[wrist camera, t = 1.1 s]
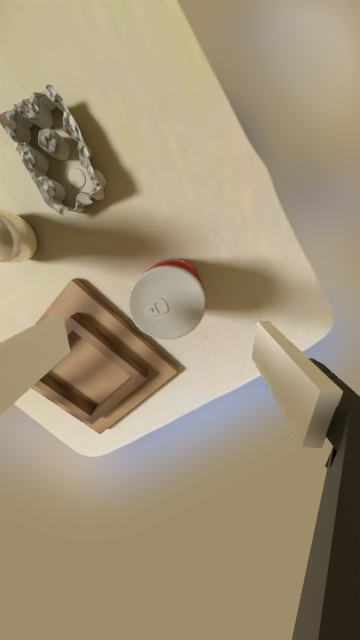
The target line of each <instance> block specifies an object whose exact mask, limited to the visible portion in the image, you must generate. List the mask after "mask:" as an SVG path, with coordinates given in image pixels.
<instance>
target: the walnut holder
mask: <svg viewBox="0 0 360 640" xmlns="http://www.w3.org/2000/svg"><path fill="white" fill-rule="evenodd" d="M52 316H63V319H64V323H65V328H66V333H67V337H68V342H69V347H70V351H71V352H70V353H69V354H68V355H67V356H65V357H64V358H63V359H62V360H61V361H60V362H59V363H58V364H57V365H55V366H54V367H53V368H52V369H51V370H50V371H49V372H48V373H47V374H45V375H44V376H43V377H42V378H41V379H40V380H39V381H38V382H37V383H35V384H34V385H33V386H32V387H31V388H32V389H34V390H35V391H37V392H38V393H40V394H41V395H43V396H44V397H46V398H47V399H49V400H50V401H52V402H53V403H55V404H56V405H58V406H59V407H61V408H62V409H64V410H65V411H66V412H68V413H69V414H71V415H72V416H74V417H75V418H77V419H78V420H80V421H81V422H83V423H84V424H86V425H87V426H89V427H90V428H92V429H93V430H95V431H96V432H98V433H99V434H101V433H103V432H104V431H105V430H106V429H108V428H109V427H110V426H111V425H113V424H114V423H115V422H116V421H117V420H119V419H120V418H121V417H122V416H124V415H125V414H126V413H127V412H129V411H130V410H131V409H132V408H134V407H135V406H136V405H137V404H139V403H140V402H141V401H142V400H144V399H145V398H146V397H147V396H149V395H150V394H151V393H152V392H154V391H155V390H156V389H157V388H159V387H160V386H161V385H162V384H164V383H165V382H166V381H167V380H169V379H170V378H171V377H172V376H174V375H175V374H176V373H177V370H178V367H177V366H175V365H174V364H173V363H172V362H171V361H170V360H169V359H168V358H166V357H165V356H164V355H163V354H162V353H161V352H160V351H158V350H157V349H156V348H155V347H154V346H153V345H152V344H150V343H149V342H148V341H147V340H146V339H145V338H144V337H143V336H141V335H140V334H139V333H138V332H137V331H136V330H135V329H133V328H132V327H131V326H130V325H129V324H128V323H127V322H125V321H124V320H123V319H122V318H121V317H120V316H119V315H118V314H116V313H115V312H114V311H113V310H112V309H111V308H110V307H108V306H107V305H106V304H105V303H104V302H103V301H102V300H100V299H99V298H98V297H97V296H96V295H95V294H94V293H93V292H91V291H90V290H89V289H88V288H87V287H86V286H85V285H83V284H82V283H81V282H80V281H79V280H78V279H77V278H76V279H73V280H71V281H70V282H69V283H68V284H67V286H66V287H65V288H64V289H63V291H62V292H61V293H60V294H59V296H58V297H57V298H56V299H55V301H54V302H53V303H52V304H51V306H50V307H49V308H48V309H47V311H46V312H45V313H44V314H43V316H42V317H41V318H40V319H39V321H38V322H37V323H36V324H38V323H40V322H42V321H44V320H46V319H48V318H50V317H52ZM36 324H35V325H36Z"/></svg>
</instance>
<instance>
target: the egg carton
mask: <svg viewBox="0 0 360 640" xmlns="http://www.w3.org/2000/svg"><path fill="white" fill-rule="evenodd" d="M56 107H58V108H59V109H60V110H61V111H62V112H63V113H64V116H63V119H62V120H63V130H64V131H65V133H67V134H68V135H69V136H70V137H72V138H73V139H74V140H75V141H76V142H77V143H78V147H77V149H78V151H79V159H80V160H81V165H82V166H83V167H85V168H86V169H87V172H88V174H89V176H90V178H91V180H92V183H93V190H92V191H91V192H90V194H88V193H86V192H82V193H79V194H78V195H77V197H76V205H75V206H76V208H75V209H73V208H69V207H66V206H64V204H63V202H62V201H63V200H64V198H65V190H64V188H63V186H62V185H61V184H60V183H58V182H56V181H54V180H52V179H50V178H48V177H47V176H46V173H47V171H48V168H49V163H48V161H47V159H46V157H45V156H44V155H43V154H41V153H40V152H38V151H37V150H35V149H33V148H32V147H31V146H30V145H28V144H29V142H30V141H31V132H30V127H31V126H33V125H36V126H38V127H40V128H41V129H43V130H40V131H39V135H38V144H39V146H40V147H41V148H43V149H44V150H45V151H46V152H48V153H49V154H50V155H52V156H54V157H55V158H57V159H59V160H62V161H64V160H66V159H67V158H68V157H69V155H70V149H69V145H68V143H67V142H66V141H65V140H64V139H63V138H62V137H61V136H60V135H58V134H57V133H56V132H55V131H54V130H52V129H50V128H51V126H52V123H53V118H52V114H51V111H52V110H53V109H54V108H56ZM0 123H1V124H2V126H3V128H4V129H5V131H6V132H7V134H8V136H9V137H10V139H11V140H12V142H13V143H14V144H15V146H16V150H17V152H18V153H19V154H20V155H21V161H22V162H23V164H24V165H25V167H26V168H27V170H28V171H29V173H30V175H31V177H32V179H33V180H34V182H35V183H36V185H37V187H38V189H39V191H40V193H41V195H42V197H43V199H44V200H45V202H46V203H47V204H48V205H49V206H50V207H51V208H53V209H54V210H56V211H57V212H59V213H60V214H62V215H65V214H66V213H67V212H68V210H69V211H73V212H77V213H79V212H81V211H84V206H86V205H88V204H90V203H92V202H93V201H91V198H95V199H97V200H101V199H103V198H105V195H104V188H105V185H106V184H107V183H106V180H105V178H104V176H103V174H102V172H99V171H98V170H93V168H92V166H91V164H90V157H91V156H92V152H91V151H90V149H89V148H88V146H87V144H86V143H85V141H83V138H82V135H81V132H80V130H79V128H78V126H77V124H76V121H75V118H74V117H73V115H72V114H71V113H70V112H69V110H68V108H67V107H66V106H65V104H64V102H63V100H62V98H61V97H60V96H59V95H58V94H57V93H56V91H55V90H54V88H53V87H52V86H51V85H47V86H46V90H45V91H43V92H42V93H36V92H34V93H32V96H31V97H30V98H28V99H24V100H23V101H22V102H21V103H18V104H15V105H13V110H11V111H6V112H4V113H2V114H0ZM68 179H69V182H70V184H71V185H72V186H73V187H75V188H77V189H81V188H83V187H84V185H85V182H86V178H85V175H84V173H83V172H82V170H80V169H78V168H72V169H71V170H70V171H69V173H68Z"/></svg>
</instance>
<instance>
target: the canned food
mask: <svg viewBox="0 0 360 640" xmlns="http://www.w3.org/2000/svg"><path fill="white" fill-rule="evenodd" d="M205 306H206V296H205V292H204V289H203V286H202V283H201V280H200V278H199V275H198V273H197V271H196V270H195V268H194V267H193V266H192V265H190V264H189V263H188V262H186V261H184V260H180V259H167V260H164V261H162V262H160V263H158V264H157V265H155V266H153V267H152V268H150V269H149V270H147V271H146V272H144V273H143V274H142V275H141V276H140V277H139V278H138V279H137V280H136V281H135V283H134V284H133V286H132V288H131V290H130V293H129V297H128V309H129V314H130V316H131V318H132V320H133V322H134V323H135V325H136V326H137V327H138V328H139V329H140V330H141V331H143V332H144V333H146V334H147V335H149V336H152V337H155V338H158V339H175V338H179V337H182V336H184V335H186V334H188V333H189V332H191V331H192V330H194V329H195V327H196V326H197V325H198V324H199V323H200V321H201V319H202V317H203V315H204V312H205Z"/></svg>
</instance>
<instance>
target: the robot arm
mask: <svg viewBox="0 0 360 640" xmlns="http://www.w3.org/2000/svg"><path fill="white" fill-rule="evenodd" d="M70 352H71V351H70V347H69V342H68V337H67V333H66V328H65V323H64V319H63V316H52V317H50V318H48V319H46V320H44V321H42V322H40V323H38V324H36V325H34V326H32V327H30V328H28V329H26V330H25V331H23V332H21V333H19V334H17V335H15V336H13V337H11V338H9V339H7V340H5V341H3V342H1V343H0V415H1V414H2V413H3V412H4V411H5V410H6V409H8V408H9V407H10V406H11V405H12V404H13V403H14V402H15V401H17V400H18V399H19V398H20V397H21V396H22V395H23V394H24V393H25V392H27V391H28V390H29V389H30V388H31V387H32V386H33V385H34V384H35V383H37V382H38V381H39V380H40V379H41V378H42V377H43V376H44V375H45V374H47V373H48V372H49V371H50V370H51V369H52V368H53V367H54V366H55V365H57V364H58V363H59V362H60V361H61V360H62V359H63V358H64V357H65V356H67V355H68V354H69V353H70ZM252 359H253V361H254V362H255V364H256V366H257V368H258V370H259V371H260V373H261V375H262V377H263V379H264V380H265V382H266V384H267V386H268V387H269V389H270V391H271V393H272V395H273V396H274V398H275V400H276V402H277V404H278V405H279V407H280V409H281V411H282V412H283V414H284V416H285V418H286V420H287V421H288V423H289V425H290V427H291V428H292V430H293V432H294V434H295V436H296V437H297V439H298V441H299V443H300V444H301V446H302V447H311V448H322V446H323V444H324V441H325V438H326V437H327V438H328V440H329V441H330V442H331V444H332V445H333V448H332V451H331V453H330V456H329V458H328V461H327V463H326V465H325V467H327V473H326V478H325V482H324V488H323V492H322V497H321V502H320V507H319V511H318V516H317V521H316V526H315V531H314V535H313V540H312V545H311V550H310V555H309V560H308V564H307V569H306V574H305V579H304V584H303V588H302V594H301V598H300V603H299V608H298V613H297V617H296V622H295V627H294V633H293V637H292V640H360V397H359V395H357V394H356V393H355V392H354V391H353V390H352V389H351V388H350V387H348V386H347V385H346V384H345V383H344V382H343V381H342V380H340V379H339V378H338V377H337V376H336V375H335V374H334V373H331V371H330V370H329V369H328V368H327V367H326V366H325V365H324V364H322V363H320V362H318V361H316V360H314V359H309V358H307V357H306V356H305V355H304V354H303V353H302V352H301V351H300V350H299V349H298V348H297V347H296V346H295V345H294V344H293V343H291V342H290V341H289V340H288V339H287V338H286V337H285V336H284V335H283V334H282V333H281V332H280V331H279V330H278V329H277V328H276V327H275V326H274V325H272V324H271V323H270V322H268V321H258V322H257V328H256V334H255V340H254V346H253V353H252Z"/></svg>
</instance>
